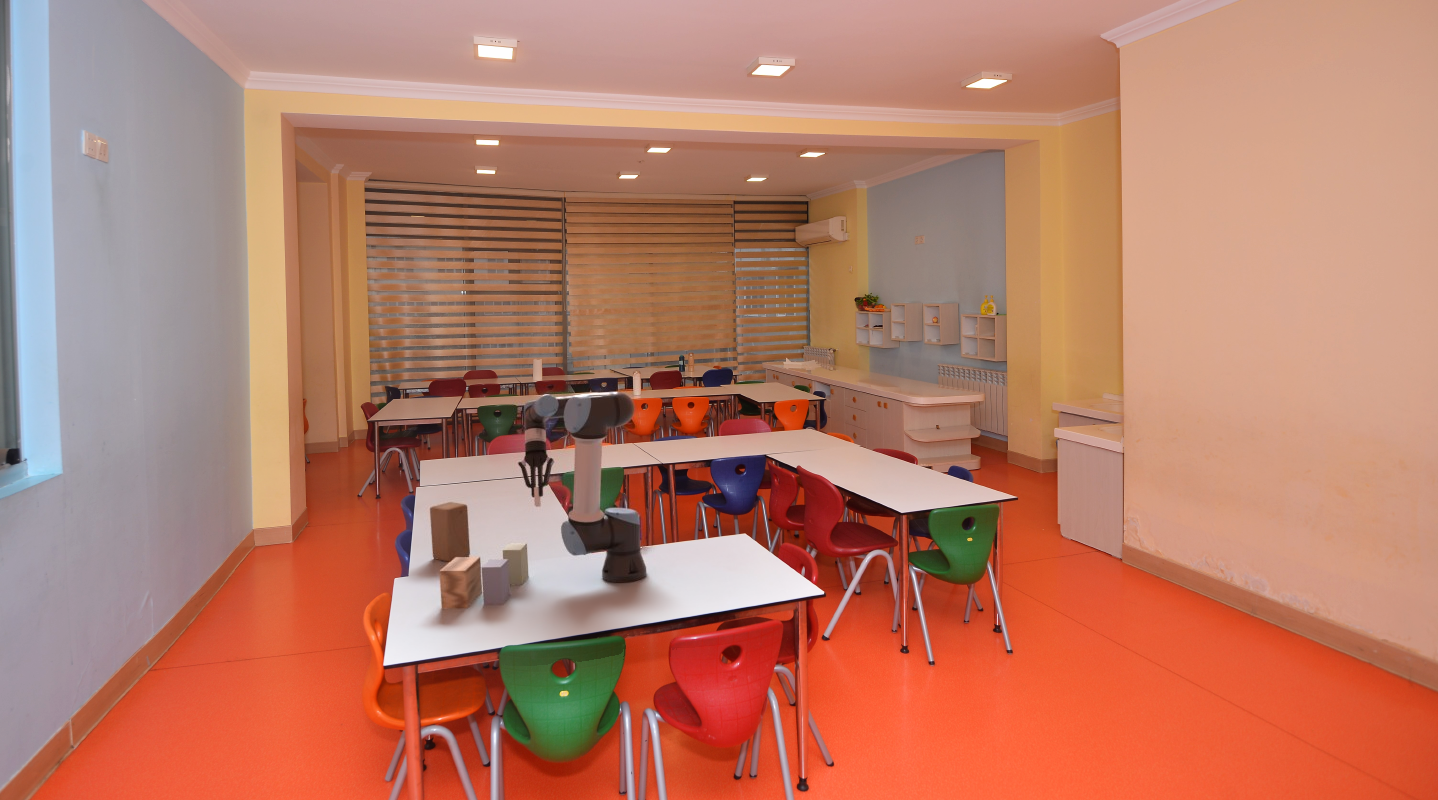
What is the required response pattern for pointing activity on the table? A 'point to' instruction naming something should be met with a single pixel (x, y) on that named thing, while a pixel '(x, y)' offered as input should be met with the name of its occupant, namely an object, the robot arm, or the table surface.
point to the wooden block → (449, 531)
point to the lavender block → (495, 582)
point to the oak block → (460, 582)
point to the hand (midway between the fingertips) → (537, 505)
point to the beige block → (517, 562)
